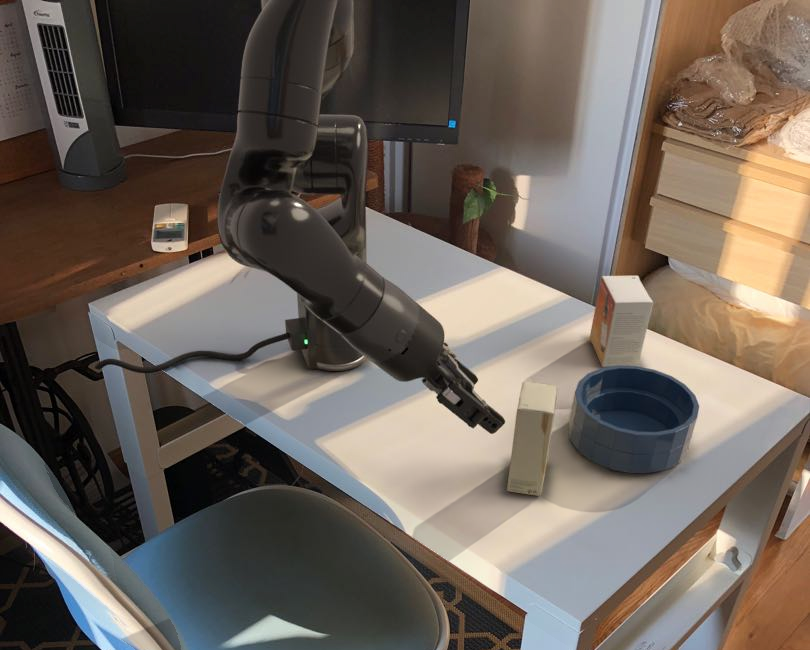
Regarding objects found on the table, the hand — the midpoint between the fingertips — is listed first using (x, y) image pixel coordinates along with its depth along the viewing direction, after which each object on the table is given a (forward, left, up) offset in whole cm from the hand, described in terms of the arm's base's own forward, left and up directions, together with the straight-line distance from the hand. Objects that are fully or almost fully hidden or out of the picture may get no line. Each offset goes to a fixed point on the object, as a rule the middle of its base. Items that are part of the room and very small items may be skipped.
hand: (484, 405), depth 103 cm
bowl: (+23, +4, -12) cm, 26 cm away
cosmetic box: (+7, 0, -12) cm, 14 cm away
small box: (+31, +24, -12) cm, 41 cm away
